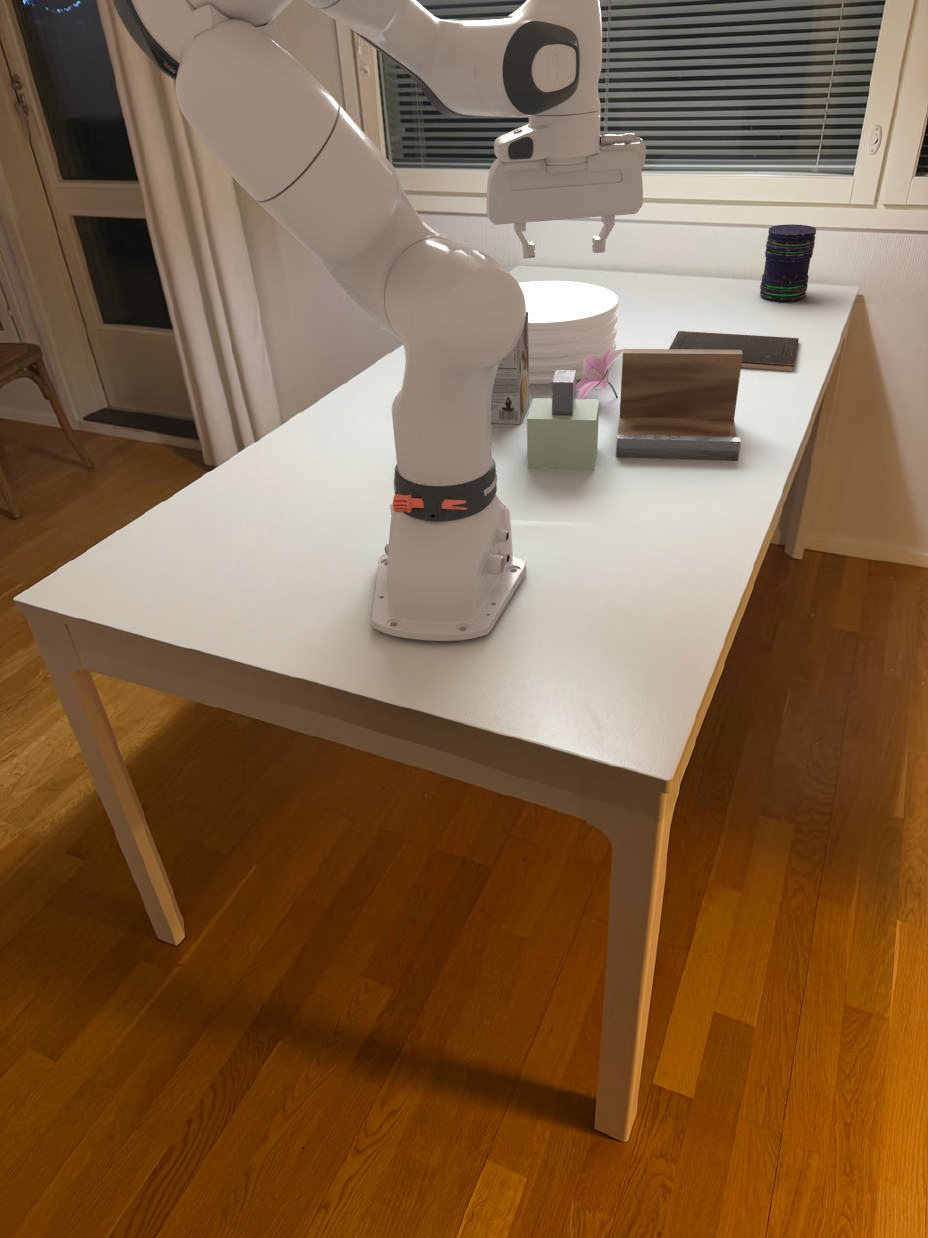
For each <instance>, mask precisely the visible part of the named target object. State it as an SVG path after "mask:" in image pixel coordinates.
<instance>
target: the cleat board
mask: <svg viewBox="0 0 928 1238" xmlns="http://www.w3.org/2000/svg"><path fill="white" fill-rule="evenodd" d="M622 350H623V352H622V363H621V365H622V366H621V381H620V382H621V383H620V399H619V400H620V403H619V416H618V417H619V420H618V429H617V435H616V436H617V437H616V449H615V451H616V453H615V457H616V458H642V459H643V458H644V459H646V458H648V459H650V458H651V459H677V460H678V459H679V460H681V459H683V460H709V461H711V460H712V461H739V456H740V452H741V451H740V449H741V443H742V441H741V437H738V434H737V429H736V423H735V417H736V409H737V408H736V407H737V400H738V391H739V385H740V379H741V377H740V376H741V371H742V370H741V368H742V367H741V363H742V356H743V353H742V350H702V349H669V348H668V349H667V348H649V349H648V348H623V349H622Z"/></svg>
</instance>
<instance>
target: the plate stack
mask: <svg viewBox="0 0 928 1238" xmlns="http://www.w3.org/2000/svg"><path fill="white" fill-rule="evenodd" d="M518 284H519V285H520V287H521V289H522V291H523V294H524V298H525V303H526V312H528V353H529V385H530V384H531V385H535V384H536V385H538V384H539V385H543V384H545V385H546V384H549V385H550V384H552V381H553V378H554V374H555V370H576V381H577V380H581V379H583V378H584V377H585V375H584V373H583V362H584V359H585V357H586V356H587V355H589V354H595V355H598V356H600V357H601V356H602V354H603V353H604V351H605V350H606V349H607V347H608V346H609V345H610V344H611V343H612V342H613V341H614V345H613V348H612V351H611V352H613V351H616V348H617V338H616V337H617V332H618V331H617V330H618V329H617V328H618V326H617V323H618V311H617V310H618V306H619V297H618V296H617V294H616V293H614V291H612V290H611V289H608V288H605V287H603V286H599V285H596V284H592V283H591V284H590V283H586V282H578V281H567V280H565V281H564V280H541V281H540V280H539V281H538V280H537V281H525V282H518ZM613 364H614V362H613V363H612V364H611V365H610V367H611V366H612V365H613Z"/></svg>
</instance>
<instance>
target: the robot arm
mask: <svg viewBox="0 0 928 1238" xmlns="http://www.w3.org/2000/svg"><path fill="white" fill-rule="evenodd" d="M293 1H294V0H112V3H113V5H114V7H115V9H116V12H117V14H118V16H119V18H120V21H121V22H122V24H123V26H124V28H125V29H126V31H127V32H128V34H129V36H130V37H131V38H132V40H133V41H134V42H135V44H136V45H137V47H139V48H140V50H141V51H142V52H143V53H144V55H146V56H147V57H148V58H149V59H150V60H152V61H153V63H154V64H155V66H156V68H157V69H158V70H160V71H161V73H162V72H163V74H164V75H166V76H168V77H169V78H171V79H172V80H174V81H175V96H176V102H177V105H178V107H179V109H180V112H181V113H182V115H183V117H184V118H185V120H186V121H187V123H189V124H188V125H190V126H191V128H192V129H193V131H194V132H195V133H196V135H197V136H198V137H199V139H200V140H201V141H202V142H203V144H204V146H205V147H207V149H208V150H209V152H210V153H211V154H212V155H213V157H214V158H215V159H216V160H217V161H218V162H219V163H220V165H221V166H222V167H223V168H224V169H225V170H226V172H227V173H228V174H229V175H230V176H231V177H232V178H233V179H234V181H236V182H237V183H238V184H239V186H240V187H241V188H242V189H243V190H244V191H246V193H248V195H249V196H250V197H252V199H254V200H255V202H256V203H258V204H259V205H260V206H261V207H262V208H263V210H265V211H266V212H267V213H268V214H269V215H270V216H271V217H272V218H274V219H275V221H276V222H278V224H280V225H281V226H282V227H283V228H284V229H285V230H286V231H287V232H288V233H289V234H290V235H291V236H292V237H293V238H295V239H296V240H297V241H298V243H300V244H301V245H302V246H303V247H304V248H305V249H306V250H307V251H308V252H309V253H310V254H311V255H312V256H313V257H314V258H315V259H316V260H317V261H318V262H319V263H320V264H321V266H323V267H324V268H325V270H326V271H327V272H328V273H329V275H330V276H331V277H332V278H333V280H335V282H336V283H337V284H338V285H339V286H340V287H341V289H343V291H345V293H346V294H347V295H348V296H349V297H350V298H351V300H353V302H354V303H355V304H357V306H358V307H359V308H360V309H361V310H362V311H363V312H364V313H365V315H367V316H368V317H369V318H370V319H371V320H372V321H373V322H374V323H375V324H376V325H377V326H378V327H380V328H381V329H382V330H384V331H386V332H388V333H389V334H391V335H393V336H395V337H397V338H398V339H400V341H401V343H402V345H403V348H404V354H405V363H404V364H405V366H404V374H403V378H402V379H403V380H402V386H401V390H399V392H398V393H397V394H396V395H395V397H394V398H393V400H392V403H391V416H392V428H393V429H392V430H393V438H394V445H395V446H394V448H395V457H396V465H395V467H394V478H393V492H394V495H393V497H392V498H393V500H392V503H391V504H389V509H390V515H391V517H390V526H389V535H388V537H389V538H388V543H386V544H385V546H384V554H381V555H380V556H379V557H378V565H377V569H376V570H377V571H376V578H375V579H376V580H375V585H374V586H375V587H374V596H373V602H372V610H371V620H370V621H371V627H372V628H373V629H376V630H377V631H378V632H381V633H384V634H386V635H390V636H394V637H398V638H404V639H411V640H420V641H421V640H422V641H434V642H435V641H439V642H445V641H446V642H449V641H450V642H451V641H452V642H453V641H465V640H471V639H476V638H480V637H483V636H486V635H488V634H489V633H490V632H491V631H492V629H493V628H494V626H495V624H496V622H497V621H498V619H499V618H500V616H501V614H502V613H503V612H504V610H505V608H506V607H507V605H508V603H509V601H511V598H512V597H513V595H514V594H515V592H516V590H517V588H518V587H519V586H520V584H521V582H522V580H523V579H524V577H525V576H526V573H527V572H528V571H527V569H528V568H527V564H526V562H525V561H524V560H523V559H521V558H518V557H516V556H514V553H513V537H512V523H511V513H510V512H511V511H510V509H509V508H508V507H507V506H506V505H505V504H504V503H503V502H502V500H500V498H499V497H498V495H497V490H498V489H497V488H498V486H497V482H498V472H497V469H496V468H497V466H496V461H495V459H494V458H493V457H492V454H493V453H492V423H491V398H492V391H493V386H494V381H495V377H496V374H497V370H498V367H499V364H500V362H501V360H502V359H503V358H505V357H506V356H507V355H508V354H509V353H510V352H511V351H512V349H513V348H514V347H515V345H516V344H517V342H518V340H519V338H520V336H521V334H522V331H523V328H524V324H525V318H526V303H525V298H524V294H523V291H522V289H521V287H520V285H519V284H518V283H519V282H518V281H517V279H516V278H515V277H514V276H513V275H512V274H511V273H510V272H509V271H508V270H507V269H506V268H504V266H502V264H500V263H499V262H498V261H497V260H496V259H494V258H493V257H492V256H491V255H489V254H487V253H485V252H483V251H481V250H477V249H475V248H472V247H469V246H468V245H467V246H466V245H464V244H461V243H458V242H455V241H453V240H451V239H448V238H447V237H445V236H444V235H442V234H440V233H439V232H437V231H436V230H435V229H433V228H432V227H431V226H430V225H429V224H428V223H426V221H424V219H423V218H422V217H421V216H420V214H419V213H418V212H417V210H416V209H415V207H414V205H413V203H412V202H411V201H410V199H409V197H408V196H407V194H406V192H405V191H404V189H403V187H402V185H401V180H400V176H399V173H398V171H397V169H396V168H395V166H394V165H393V164H392V163H391V162H390V160H388V158H387V157H386V156H385V155H384V154H383V153H382V151H381V150H380V149H379V148H378V147H377V146H376V144H375V143H374V142H373V141H372V140H371V139H370V138H369V137H368V136H367V135H366V133H365V132H364V131H363V129H362V128H360V126H359V125H358V124H357V123H356V122H355V121H354V119H353V118H352V117H351V116H350V115H349V114H348V113H347V111H346V110H345V109H344V108H343V107H342V106H341V104H340V103H339V102H338V101H337V100H336V99H335V97H333V95H332V94H331V93H330V92H329V91H328V90H327V89H326V88H325V87H324V86H323V85H322V84H321V83H320V82H319V80H317V79H316V78H315V76H313V74H311V73H310V71H309V70H307V68H305V66H303V65H302V64H301V63H300V62H299V61H298V60H296V58H295V57H294V56H293V55H291V54H290V53H289V51H288V49H287V48H286V45H285V44H284V42H283V39H282V36H281V34H280V33H279V29H278V27H277V25H276V22H275V21H274V20H275V19H276V18H277V17H278V16H279V15H280V14H281V13H282V12H283V11H284V10H285V9H286V8H287V7H289V5H290V4H291V3H292V2H293ZM303 1H304V2H306V3H308V5H310V6H312V7H313V8H315V9H316V10H318V11H320V12H322V13H323V14H325V15H326V16H327V17H329V18H331V19H332V20H335V21H337V22H338V23H340V24H341V25H344V26H345V27H347V28H348V29H350V30H351V31H352V32H353V33H354V34H356V35H357V36H358V37H359V38H361V39H362V40H364V41H365V42H366V43H367V44H368V45H370V46H371V47H372V48H374V49H375V50H377V51H378V52H380V53H381V54H382V55H383V56H385V57H386V58H387V59H389V60H390V61H392V62H393V63H394V64H396V65H397V66H398V67H400V68H401V69H402V70H404V71H405V72H406V73H407V74H408V75H410V77H411V78H412V79H413V80H414V81H415V82H416V83H417V85H418V86H419V88H420V90H421V91H422V93H423V94H424V96H425V97H426V99H427V100H428V102H429V103H430V105H431V106H432V107H433V108H434V109H435V110H436V111H438V112H439V113H440V114H442V115H443V116H446V117H449V118H454V119H455V118H466V117H477V116H478V117H497V118H499V117H501V118H502V117H503V118H528V123H527V124H525V125H523V126H521V127H518V128H515V129H514V130H511V131H509V132H507V133H504V134H501V135H500V136H498V137H497V138H496V139H494V143H493V151H494V155H495V157H496V158H497V159H495V160H494V161H493V163H492V164H491V166H490V167H489V172H488V176H487V185H486V200H485V203H486V209H485V210H486V215H487V216H486V217H487V218H488V220H489V221H490V222H491V223H492V224H493V225H495V226H497V225H509V224H513V230H514V232H515V234H516V235H517V237H518V239H519V241H520V242H521V246H522V257H523V259H525V260H526V259H533V258H535V257H536V253H535V250H536V245H535V243H534V241H527V239H526V237H525V235H524V234H523V232H526V231H527V224H526V223H536V222H548V221H549V222H550V221H561V220H562V221H563V220H575V219H576V220H577V219H588V218H598V217H599V218H601V222H602V224H603V226H602V229H601V230H600V232H599V234H598V235H597V236H592V241H591V242H592V246H591V248H592V250H591V251H592V253H593V254H600V253H605V252H606V241H607V239H608V237H609V235H610V234H611V232H612V230H613V228H614V226H615V225H616V223H615V221H616V216H627V215H636V214H637V213H639V211H640V210H641V209H642V207H643V204H644V188H643V187H644V185H643V172H642V170H643V168H644V167H645V164H646V156H647V146H646V144H645V142H644V140H643V139H642V138H640V137H639V136H636V134H635V133H631V132H630V133H629V132H627V133H624V134H601V109H602V107H601V106H602V105H601V101H600V95H599V80H600V75H601V71H602V66H603V65H602V64H603V26H602V24H603V23H602V13H601V12H602V11H601V6H600V5H601V4H600V0H526V1H525V2H524V3H523V4H522V5H521V6H520V7H519V8H518V9H517V10H515V11H513V12H512V13H511V14H509V15H507V18H500V19H499V18H498V19H482V20H467V19H465V20H464V19H440V18H438V17H436V16H434V15H433V14H432V13H431V12H429V11H428V10H427V9H426V8H425V7H424V6H423V5H422V4H421V3H420V2H418V1H417V0H303Z"/></svg>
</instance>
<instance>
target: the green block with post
mask: <svg viewBox="0 0 928 1238" xmlns="http://www.w3.org/2000/svg"><path fill="white" fill-rule="evenodd" d="M576 382H577V380H576V370H555V374H554V378H553V381H552V383H551V398H538V397H537V398H536V397H535V398H532V402H531V405H530V408H529V411H528V415H527V417H526V433H527V434H526V441H527V442H526V449H527V452H526V453H527V454H526V456H527V457H526V458H527V463H526V464H527V465H526V466H527V467H526V468H527V470H528V469H530V470H534V469H535V470H557V471H558V470H559V471H561V470H562V471H591V472H592V471H593V472H595V469H596V460H597V453H598V444H599V443H598V442H599V420H600V419H599V416H600V415H599V414H600V413H599V412H600V411H599V410H600V399H594V398H593V399H589V398H587V399H586V398H583V399H577V398H576V393H577V391H576V385H577V383H576Z"/></svg>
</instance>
